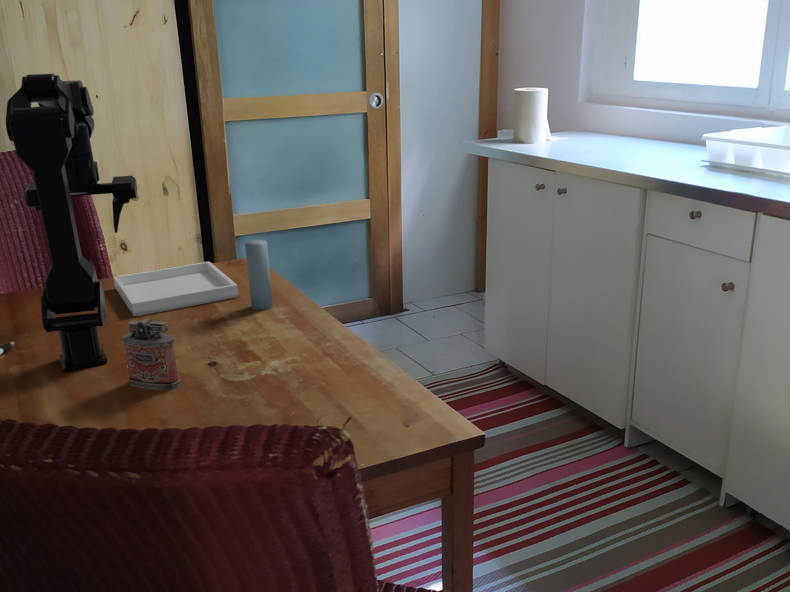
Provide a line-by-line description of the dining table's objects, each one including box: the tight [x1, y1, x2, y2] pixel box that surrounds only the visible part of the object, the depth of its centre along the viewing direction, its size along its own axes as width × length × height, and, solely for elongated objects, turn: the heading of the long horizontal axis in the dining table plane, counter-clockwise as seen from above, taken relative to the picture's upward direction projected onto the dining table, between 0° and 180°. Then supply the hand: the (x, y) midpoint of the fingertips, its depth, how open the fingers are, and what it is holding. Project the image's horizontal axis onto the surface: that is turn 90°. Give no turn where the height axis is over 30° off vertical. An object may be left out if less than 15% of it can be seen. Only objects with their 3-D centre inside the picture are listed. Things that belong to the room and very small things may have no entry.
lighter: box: [121, 317, 181, 391], centre depth 110 cm, size 8×3×10 cm, turn 73°
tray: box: [113, 261, 240, 318], centre depth 152 cm, size 20×20×2 cm
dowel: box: [244, 239, 273, 311], centre depth 141 cm, size 4×4×12 cm
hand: (90, 234), depth 142 cm, fingers open, 9 cm apart
